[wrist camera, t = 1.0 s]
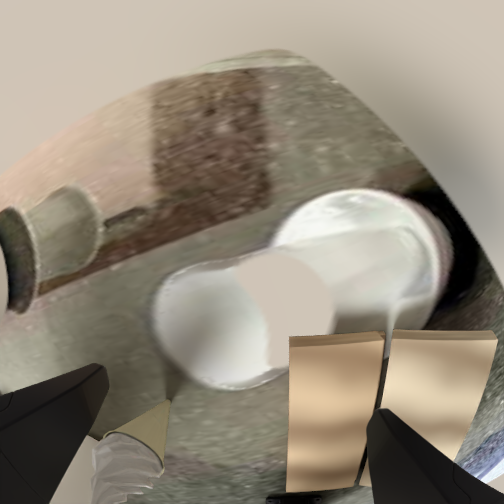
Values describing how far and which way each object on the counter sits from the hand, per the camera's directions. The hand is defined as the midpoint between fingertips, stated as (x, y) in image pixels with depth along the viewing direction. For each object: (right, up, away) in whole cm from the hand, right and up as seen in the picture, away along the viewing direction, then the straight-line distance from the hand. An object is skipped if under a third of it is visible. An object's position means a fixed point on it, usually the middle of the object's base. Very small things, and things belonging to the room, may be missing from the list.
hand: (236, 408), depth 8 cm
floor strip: (+7, -11, +14) cm, 19 cm away
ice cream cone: (-7, -9, +15) cm, 19 cm away
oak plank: (+16, -10, +11) cm, 22 cm away
